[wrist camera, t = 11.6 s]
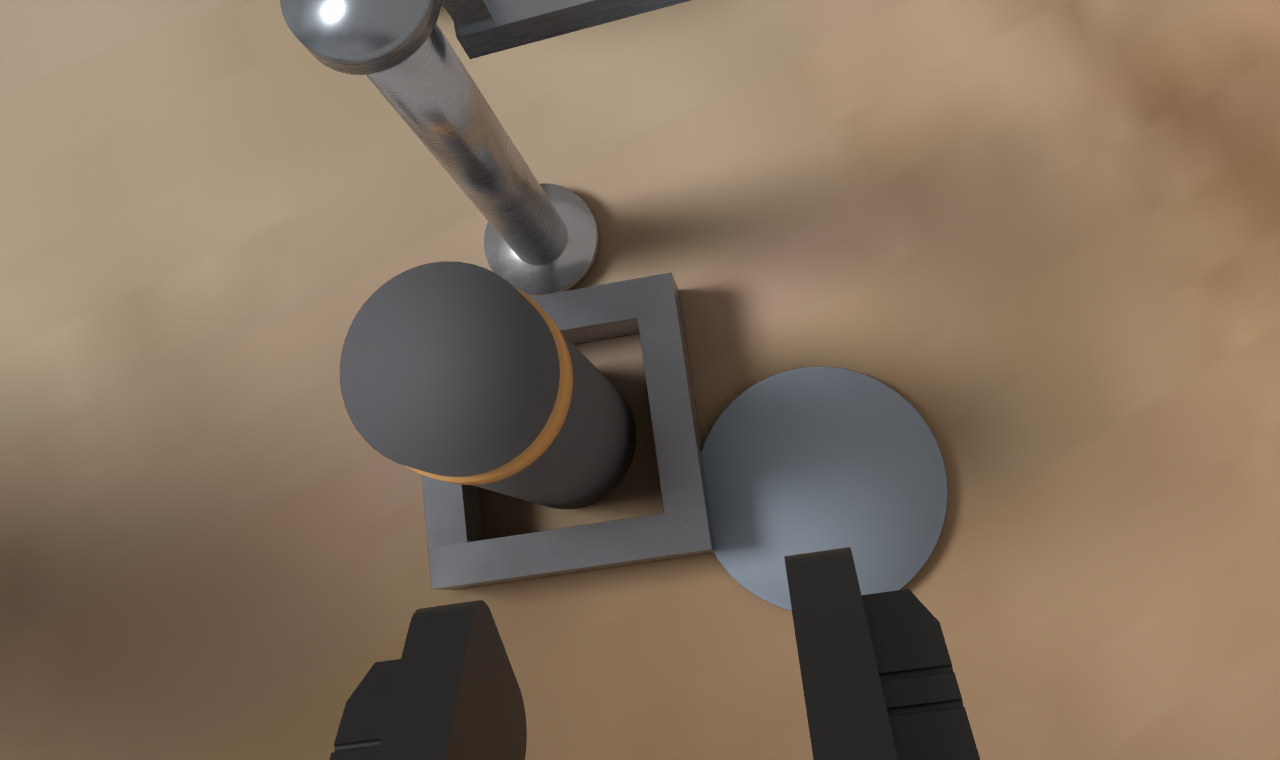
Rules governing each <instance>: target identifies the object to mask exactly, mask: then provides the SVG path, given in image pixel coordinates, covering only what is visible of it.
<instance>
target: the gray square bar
mask: <svg viewBox="0 0 1280 760" xmlns="http://www.w3.org/2000/svg"><path fill="white" fill-rule="evenodd" d="M441 1H442V3H443V5H444V6H445V8H446V10H447V11H448V13H449V15H450V16H451V18H452V19H453V21H454V26H455V31H456V37H457V39H458V40H459V42H460V44H461V45H462V47H463V48H464V50H465V52H466V53H467V55H468V57H469V58H470V59H472V58H476V57H480V56H483V55H487V54H491V53H495V52H499V51H502V50H506V49H510V48H514V47H517V46H521V45H525V44H529V43H532V42H536V41H540V40H544V39H547V38H551V37H555V36H559V35H562V34H566V33H570V32H574V31H577V30H581V29H585V28H589V27H593V26H596V25H600V24H604V23H608V22H611V21H615V20H619V19H623V18H626V17H630V16H634V15H638V14H641V13H645V12H649V11H653V10H656V9H660V8H664V7H668V6H672V5H675V4H679V3H683V2H687V1H690V0H280V3H281V8H282V13H283V16H284V18H285V21H286V23H287V25H288V27H289V28H290V30H291V31H292V32H293V34H294V35H295V36H296V37H297V38H298V40H299V41H300V42H301V43H302V44H303V45H304V46H305V47H306V48H307V50H308V51H309V52H310V53H311V54H312V55H313V56H314V57H315V58H316V59H317V60H318V61H320V62H321V63H322V64H324V65H325V66H327V67H329V68H331V69H333V70H336V71H339V72H342V73H347V74H356V75H364V74H373V73H378V72H381V71H384V70H388V69H390V68H392V67H394V66H396V65H398V64H400V63H402V62H403V61H405V60H407V59H408V58H409V57H410V56H412V55H413V54H414V53H415V52H416V51H417V50H418V49H419V48H420V47H421V46H422V45H423V44H424V42H425V41H426V40H427V39H428V37H429V35H430V34H431V32H432V30H433V28H434V26H435V24H436V22H437V19H438V16H439V12H440V7H441Z"/></svg>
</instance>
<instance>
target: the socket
mask: <svg viewBox="0 0 1280 760" xmlns="http://www.w3.org/2000/svg"><path fill="white" fill-rule="evenodd" d="M530 298H531V299H533V300H534V301H535V302H536V303H537V304H538V305H539V306H540V307H541V308H542V309H543V310H544V311H545V312H546V313H547V314H548V316H549V317H550V318H551V319H552V320H553V321H554V323H555V324H556V326H557V327H558V329H559V330H560V332H561V334H562V335H563V336H564V337H565V338H566V339H567V340H568V341H569V342H570V343H571V344H578V343H584V342H590V341H596V340H602V339H608V338H614V337H620V336H626V335H632V334H637V333H640V339H641V346H642V354H643V361H644V368H645V375H646V383H647V390H648V397H649V405H650V412H651V419H652V427H653V434H654V441H655V448H656V456H657V463H658V470H659V478H660V485H661V492H662V499H663V507H664V513H663V514H656V515H649V516H643V517H636V518H629V519H622V520H615V521H609V522H602V523H595V524H588V525H582V526H575V527H568V528H561V529H554V530H548V531H541V532H534V533H527V534H521V535H514V536H507V537H500V538H493V539H487V540H484V532H483V522H482V512H481V502H480V492H479V487H477V486H473V485H462V484H454V483H449V482H444V481H441V480H437V479H433V478H430V477H427V476H424V475H422V485H423V496H424V508H425V519H426V530H427V541H428V552H429V563H430V574H431V585H432V589H445V590H453V589H460V588H467V587H474V586H481V585H488V584H495V583H502V582H509V581H516V580H523V579H530V578H537V577H544V576H551V575H558V574H565V573H572V572H579V571H586V570H593V569H600V568H607V567H615V566H622V565H629V564H636V563H643V562H650V561H657V560H664V559H671V558H678V557H685V556H692V555H699V554H706V553H713V552H715V551H716V550H715V543H714V536H713V529H712V522H711V516H710V509H709V502H708V495H707V488H706V481H705V475H704V468H703V461H702V454H701V452H702V448H701V441H700V434H699V427H698V421H697V414H696V407H695V400H694V393H693V386H692V379H691V373H690V366H689V359H688V352H687V345H686V338H685V332H684V325H683V318H682V311H681V304H680V297H679V291H678V287H677V285H676V283H675V280H674V278H673V275H672V273H667V274H661V275H655V276H650V277H644V278H638V279H632V280H626V281H621V282H615V283H609V284H603V285H598V286H592V287H586V288H580V289H574V290H569V291H563V292H557V293H551V294H546V295H540V296H534V297H530Z"/></svg>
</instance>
